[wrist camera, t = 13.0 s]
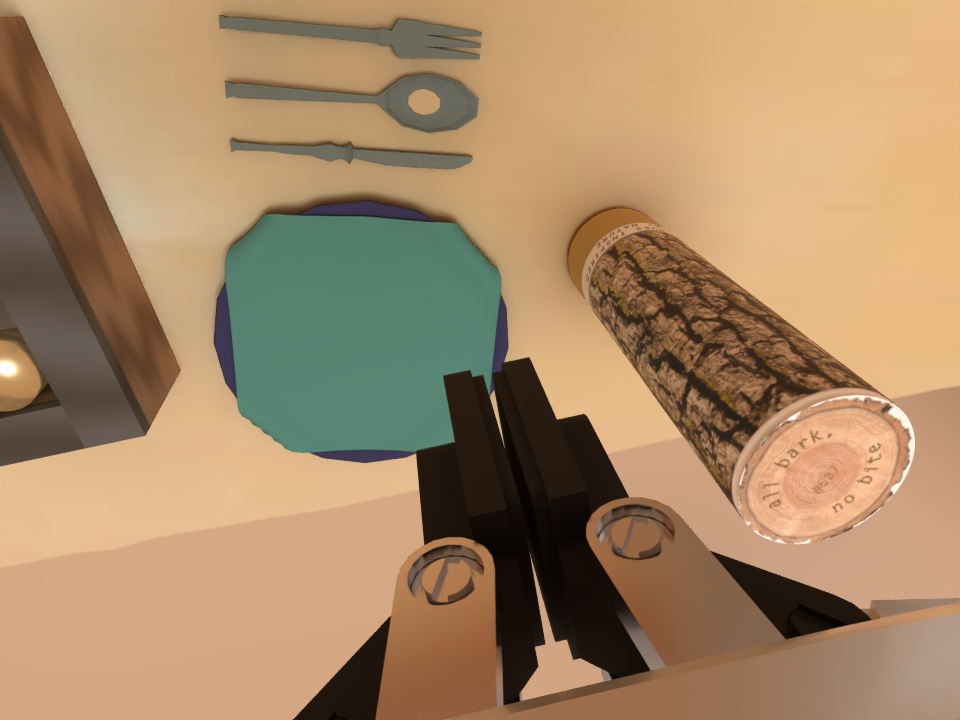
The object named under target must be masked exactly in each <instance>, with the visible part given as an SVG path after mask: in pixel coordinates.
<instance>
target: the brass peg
mask: <svg viewBox="0 0 960 720" xmlns="http://www.w3.org/2000/svg"><path fill="white" fill-rule="evenodd" d="M47 384H48V381H47V379H46V378H45V376H44V374H43V372H42V370H41V369H40V367H39V365H38V363H37V362H36V360H35V358H34V356H33V355H32V353H31V351H30V349H29V347H28V346H27V344H26V342H25V340H24V339H23V337H22V335H21V333H20V332H19V330H18V328H17V327H15V328H10V329H5V330H0V411H2V412H5V411H14V410H18V409H21V408H23V407H25V406H27V405H28V404H30V403H31V402H32V401H33V400H34V398H35V397H36V396H37V395H38V394H39V393H40V392H41V390H42V389H43V388H44V387H45V386H46V385H47Z"/></svg>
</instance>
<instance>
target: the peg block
mask: <svg viewBox="0 0 960 720" xmlns="http://www.w3.org/2000/svg"><path fill="white" fill-rule="evenodd" d="M15 327H17V328H18V330H19V332H20V333H21V335H22V337H23V339H24V340H25V342H26V344H27V346H28V347H29V349H30V351H31V353H32V355H33V356H34V358H35V360H36V362H37V363H38V365H39V367H40V369H41V370H42V372H43V374H44V376H45V378H46V379H47V381H48V384H47V385H46V386H45V387H44V388H43V389H42V390H41V392H40V393H39V394H38V395H37V396H36V397H35V398H34V400H33V401H32V402H31V403H30V404H28V405H27V406H25V407H23V408H21V409H18V410H14V411H5V412H2V411H0V466H4V465H9V464H14V463H19V462H23V461H28V460H33V459H37V458H42V457H47V456H52V455H56V454H61V453H66V452H70V451H75V450H80V449H85V448H89V447H94V446H99V445H103V444H108V443H113V442H117V441H122V440H127V439H132V438H136V437H141V436H145V435H146V433H147V432H148V430H149V428H150V426H151V424H152V422H153V421H154V419H155V417H156V415H157V413H158V411H159V409H160V408H161V406H162V404H163V402H164V400H165V398H166V397H167V395H168V393H169V391H170V389H171V387H172V385H173V384H174V382H175V380H176V378H177V376H178V374H179V373H180V371H181V370H180V367H179V365H178V363H177V361H176V359H175V356H174V354H173V352H172V350H171V347H170V345H169V343H168V341H167V338H166V336H165V334H164V332H163V329H162V327H161V325H160V323H159V320H158V318H157V316H156V314H155V311H154V309H153V307H152V305H151V302H150V300H149V298H148V296H147V293H146V291H145V289H144V287H143V284H142V282H141V280H140V278H139V275H138V273H137V271H136V269H135V266H134V264H133V262H132V260H131V257H130V255H129V253H128V251H127V248H126V246H125V244H124V242H123V239H122V237H121V235H120V233H119V230H118V228H117V226H116V224H115V222H114V219H113V217H112V215H111V213H110V210H109V208H108V206H107V204H106V201H105V199H104V197H103V195H102V192H101V190H100V188H99V186H98V183H97V181H96V179H95V177H94V174H93V172H92V170H91V168H90V165H89V163H88V161H87V159H86V156H85V154H84V152H83V150H82V147H81V145H80V143H79V141H78V138H77V136H76V134H75V132H74V129H73V127H72V125H71V123H70V120H69V118H68V116H67V114H66V111H65V109H64V107H63V105H62V102H61V100H60V98H59V96H58V93H57V91H56V89H55V87H54V84H53V82H52V80H51V78H50V76H49V73H48V71H47V69H46V67H45V64H44V62H43V60H42V58H41V55H40V53H39V51H38V49H37V46H36V44H35V42H34V40H33V37H32V35H31V33H30V31H29V28H28V26H27V24H26V22H25V19H24V17H0V330H5V329H10V328H15Z"/></svg>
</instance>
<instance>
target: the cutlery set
mask: <svg viewBox="0 0 960 720" xmlns="http://www.w3.org/2000/svg"><path fill="white" fill-rule="evenodd" d="M219 23H220V29H222V28H231V29H237V30H247V31H257V32H268V33H279V34H290V35H301V36H311V37H322V38H332V39H342V40H352V41H363V42H373V43H378V44H379V45H380V46H384V45H390V44H391V45H392V47H393V49H394V51H395V53H396V55H397V57H398V58H455V59H480V55H476V54H470V53H464V52H457V51H451V50H444V49H438V48H432V47H467V48H481V44H479V43H473V42H467V41H460V40H454V39H448V38H441V37H435V36H429V35H449V36H481V35H482V32H477V31H470V30H464V29H458V28H452V27H446V26H440V25H434V24H427V23H422V22H418V21H414V20H404V19H398V21H397V22H396V24H395V25H394V27H393V29H392V30H391V31H390V30H387V29H384V28H380V29H379V30H373V29H362V28H351V27H340V26H330V25H318V24H307V23H296V22H284V21H273V20H261V19H250V18H229V17H226V16H223V15H219ZM225 87H226V98H228V97H232V96H233V97H238V98H251V99H275V100H298V101H324V102H351V103H378V104H379V105H380V106H381V107H382V109H383V110H384V111H386V112H387V113H388V114H389V115H390V116H391V117H392V118H394V119H395V120H396V121H397V122H398V123H399V124H400V125H402V126H404V127H408V128H412V129H415V130H419V131H423V132H426V133H434V132H442V131H450V130H457V129H459V128H460V127H462V126H463V125H465V124H466V123H468V122H469V121H471V120H472V119H474V118H476V117H477V110H478V98H477V97H476V96H475V95H474V94H473V93H472V92H471V91H469V90H468V89H467V88H466V87H465V86H464V85H463V84H462V83H461V82H458V81H455V80H451V79H448V78H444V77H441V76H438V75H434V74H426V75H419V76H411V77H403V78H402V79H401V80H399V81H398V82H396V83H395V84H394V85H392V86H391V87H389V88H388V89H387V90H385V91H384V92H383V93H381V94H380V95H379V96H372V95H360V94H349V93H339V92H328V91H317V90H306V89H296V88H286V87H276V86H266V85H256V84H247V83H232V82H229V81H225ZM420 89H427V90H430V91H433V92H435V94H436V95H437V96H438V97H439V98H440V108H439V109H438V110H437V111H436V112H435V113H433V114H429V115H421V114H418V113H415V112H414V111H413V110H412V109H411V108H410V107H409V106H408V97H409V96H410V95H411V94H412V93H413V92H414V91H415V90H420ZM230 145H231V152H233V151H235V150H247V151H273V152H280V153H287V154H296V155H311V156H314V157H317V158H320V159H323V160H327V161H330V162H331V161H334V160H337V159H344V160H346V161H347V162H348V163H349V164H350V163H351V161H352V159H353V158H356V159H360V160H364V161H368V162H374V163H379V164H384V165H392V166H403V167H416V168H435V169H455V168H459V167H462V166H464V165H466V164H468V163H470V162H471V161H472V158H473V157H472V156H461V155H446V154H431V153H415V152H400V151H385V150H369V149H354V148H353V147H352V144H351V142H350V143H349V144H348V145H346V146H337V145H335V144H333V143H325V144H320V145H315V146H301V145H268V144H257V143H247V142H237V141H235V140H234V139H233V138H232V139H231V140H230ZM225 279H226V282H225V284H224V286H223V288H222V290H221V292H220V294H219V296H218V298H217V306H216V319H215V332H214V345H215V348H216V352H217V355H218V359H219V362H220V366H221V369H222V372H223V376H224V379H225V383H226V384H227V385H228V387H229V388H230V390H231V391H232V392H233V394H234V395H235V397H236V398H237V402H238V409H239V412H240V414H241V415H242V416H243V417H245V418H247V419H248V420H250V421H251V423H252V424H253V425H255V426H257V427H259V428H261V429H262V431H263V432H264V433H266V434H267V435H269V436H271V437H272V438H273V439H274V441H276V442H278V443H280V444H282V445H283V447H284V448H285V449H288V450H290V451H292V452H300V453H311V454H314V455H317V456H319V457H322V458H327V459H335V460H344V461H352V462H361V463H369V462H376V461H383V460H391V459H398V458H405V457H408V456H411V455H413V454H416V451H417V450H420V449H425V448H429V447H434V446H438V445H443V444H448V443H452V442H454V441H455V440H454V435H453V429H452V424H451V418H450V413H449V407H448V402H447V396H446V390H445V385H444V379H443V375H448V374H453V373H457V372H462V371H467V370H471V373H472V377H474V376H479V375H483V376H484V379H485V383H486V386H487V389H488V393H489V396H490V395H491V394H492V392H493V391H494V384H493V379H492V373H493V372H498V371H502V369H501V363H504V361H505V358H506V354H507V351H508V329H507V310H506V306H505V303H504V301H503V298H502V296H501V275H500V273H499V271H498V268H497V267H495V266H494V265H492V264H490V262H489V260H488V257H486V256H484V255H482V254H481V252H480V250H479V248H478V247H477V246H475V245H474V244H472V243H471V241H470V238H469V236H468V235H466V234H465V233H463V232H462V231H461V228H460V226H459V225H458V224H454V223H441V222H436V221H435V220H433V219H431V218H429V217H427V216H426V215H424V214H422V213H420V212H419V211H417V210H412V209H407V208H403V207H398V206H393V205H388V204H383V203H379V202H374V201H369V200H365V201H356V202H346V203H336V204H326V205H317V206H315V207H313V208H311V209H308V210H306V211H304V212H302V213H299V214H297V215H282V214H267V215H263V217H262V218H261V219H260V220H259V221H258V223H257V224H256V225H255V226H254V227H253V228H252V229H251V230H250V231H249V232H248V233H247V234H246V235H245V236H244V237H243V238H242V239H240V240H239V241H238V242H236V243H235V244H234V245H233V246H231V248H230V250H229V252H228V254H227V256H226V262H225Z"/></svg>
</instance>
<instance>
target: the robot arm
mask: <svg viewBox="0 0 960 720" xmlns="http://www.w3.org/2000/svg"><path fill="white" fill-rule="evenodd" d="M501 369H502V371H498V372H493V373H492V379H493V384H494V390H495V396H496V401H497V407H498V412H499V418H500V423H501V429H502V435H503V440H504V444H503V441H502V437H501V434H500V430H499V427H498V424H497V420H496V417H495V413H494V410H493V407H492V403H491V400H490V396H489V393H488V389H487V386H486V383H485V379H484V376H483V375H479V376H474V377H472V373H471V370H467V371H462V372H457V373H453V374H448V375H443V379H444V385H445V390H446V396H447V402H448V407H449V413H450V418H451V424H452V429H453V435H454V440H455V442H452V443H448V444H443V445H438V446H434V447H429V448H425V449H420V450H417V451H416V457H417V468H418V480H419V491H420V502H421V513H422V524H423V535H424V546H422V547H420V548H419V549H417V550H416V551H415V552H413V553H412V554H411V555H410V556H409V557H408V558H407V560H406V561H405V562H404V564H403V565H402V566H401V568H400V571H399V574H398V577H397V582H396V589H395V596H394V601H393V608H392V615H391V616H390V617H389V618H388V619H387V620H386V621H385V622H384V623H383V624H382V625H381V626H380V628H379V629H378V630H377V631H376V632H375V633H374V634H373V635H372V636H371V637H370V638H369V639H368V640H367V641H366V642H365V644H364V645H363V646H362V647H361V648H360V649H359V650H358V651H357V652H356V653H355V654H354V655H353V656H352V657H351V659H350V660H349V661H348V662H347V663H346V664H345V665H344V666H343V667H342V668H341V669H340V670H339V671H338V672H337V673H336V674H335V676H334V677H333V678H332V679H331V680H330V681H329V682H328V683H327V684H326V685H325V686H324V687H323V688H322V689H321V691H319V693H318V694H317V695H316V696H315V697H314V698H313V699H312V700H311V701H310V702H309V703H308V704H307V705H306V707H305V708H304V709H303V710H302V711H301V712H300V713H299V714H298V715H297V716H296V717H295V718H294V719H293V720H960V598H953V599H911V600H872V601H871V606H870V609H859V608H858V607H857V606H855V605H854V604H852V603H851V602H848V601H846V600H844V599H842V598H840V597H838V596H836V595H833V594H830V593H828V592H825V591H822V590H819V589H816V588H813V587H811V586H808V585H805V584H802V583H800V582H797V581H794V580H791V579H788V578H785V577H782V576H780V575H777V574H774V573H771V572H768V571H766V570H763V569H760V568H757V567H754V566H751V565H749V564H746V563H743V562H740V561H738V560H735V559H732V558H729V557H726V556H723V555H720V554H717V553H715V552H712V551H710V550H709V549H708V548H707V547H706V546H705V545H704V543H703V542H702V541H701V540H700V539H699V538H698V536H696V534H695V533H694V532H693V531H692V529H691V528H690V527H689V526H688V525H687V524H686V523H685V521H684V520H683V519H682V518H681V517H680V516H679V515H678V514H677V513H676V512H675V511H674V510H673V509H671V508H670V507H669V506H667V505H665V504H662V503H660V502H658V501H656V500H651V499H646V498H642V497H638V498H633V497H632V498H630V497H629V496H628V494H627V492H626V490H625V489H624V486H623V484H622V483H621V481H620V479H619V477H618V475H617V473H616V471H615V469H614V467H613V465H612V463H611V461H610V459H609V458H608V455H607V453H606V452H605V450H604V448H603V446H602V444H601V442H600V440H599V438H598V436H597V434H596V432H595V430H594V428H593V426H592V425H591V423H590V421H589V419H588V417H587V416H586V415H585V414H581V415H577V416H572V417H568V418H563V419H558V420H557V419H556V417H555V414H554V412H553V410H552V407H551V405H550V403H549V401H548V398H547V396H546V394H545V392H544V389H543V387H542V385H541V382H540V380H539V378H538V376H537V373H536V371H535V369H534V367H533V364H532V362H531V360H530V358H529V357H528V358H523V359H518V360H514V361H509V362H504V363H501ZM504 446H505V448H504ZM529 551H530V552H529ZM530 555H531V558H532V562H533V565H534V569H535V572H536V576H537V580H538V583H539V586H540V590H541V594H542V597H543V601H544V604H545V608H546V611H547V615H548V619H549V622H550V626H551V629H552V633H553V636H554V639H555V641H556V642H558V641H562V640H567V641H568V644H569V647H570V651H571V654H572V657H573V660H575V659H579V658H582V659H583V660H585V661H587V662H589V663H591V664H593V665H595V666H597V667H599V668H601V671H602V676H603V679H604V682H600V683H596V684H593V685H588V686H584V687H579V688H575V689H571V690H567V691H562V692H559V693H554V694H550V695H546V696H541V697H537V698H533V699H529V700H524V701H523V699H522V694H521V691H522V689H523V688H524V686H525V685H526V684H527V682H528V681H529V679H530V678H531V676H532V675H533V673H534V672H535V671H536V669H537V668H538V661H537V656H536V651H535V647H536V646H541V645H545V640H544V633H543V627H542V622H541V616H540V610H539V604H538V598H537V592H536V586H535V581H534V575H533V569H532V563H531V558H530Z"/></svg>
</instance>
